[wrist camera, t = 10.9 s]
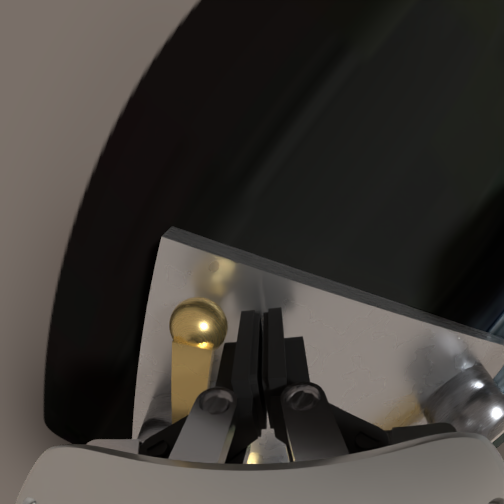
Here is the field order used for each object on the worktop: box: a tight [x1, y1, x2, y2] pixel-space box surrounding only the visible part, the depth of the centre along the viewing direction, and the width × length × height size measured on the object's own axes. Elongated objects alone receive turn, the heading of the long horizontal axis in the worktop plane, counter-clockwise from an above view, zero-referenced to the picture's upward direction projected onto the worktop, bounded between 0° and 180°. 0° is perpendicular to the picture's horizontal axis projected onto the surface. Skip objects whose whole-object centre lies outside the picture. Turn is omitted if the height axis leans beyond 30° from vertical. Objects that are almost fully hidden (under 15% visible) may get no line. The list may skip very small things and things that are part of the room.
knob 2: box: [424, 365, 504, 443], centre depth 13 cm, size 14×6×6 cm, turn 144°
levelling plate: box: [132, 227, 504, 464], centre depth 17 cm, size 26×23×2 cm
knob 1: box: [137, 297, 228, 441], centre depth 11 cm, size 14×6×6 cm, turn 169°
